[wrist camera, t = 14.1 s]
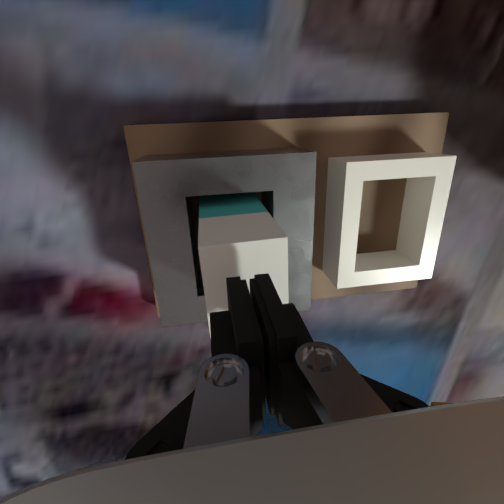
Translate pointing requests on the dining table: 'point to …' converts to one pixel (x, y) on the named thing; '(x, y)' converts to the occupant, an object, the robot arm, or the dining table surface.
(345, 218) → the white rectangular frame
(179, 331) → the dining table surface
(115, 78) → the dining table surface
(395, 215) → the panel board
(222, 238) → the plug
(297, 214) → the port block
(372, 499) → the robot arm
